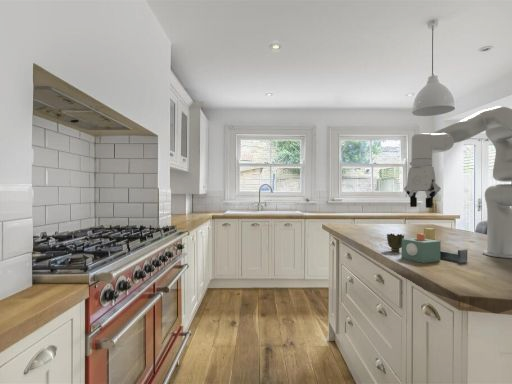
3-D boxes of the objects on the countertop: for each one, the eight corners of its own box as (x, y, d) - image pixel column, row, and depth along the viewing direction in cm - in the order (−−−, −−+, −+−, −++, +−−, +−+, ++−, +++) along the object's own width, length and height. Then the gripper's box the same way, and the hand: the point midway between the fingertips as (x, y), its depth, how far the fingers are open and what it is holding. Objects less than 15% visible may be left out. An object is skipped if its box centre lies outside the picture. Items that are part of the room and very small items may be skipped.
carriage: (427, 252, 135) (427, 227, 135) (440, 255, 130) (440, 229, 130) (418, 253, 133) (418, 228, 133) (430, 256, 127) (431, 229, 127)
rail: (423, 253, 136) (423, 242, 136) (467, 262, 119) (467, 249, 119) (416, 253, 134) (416, 242, 134) (460, 263, 117) (460, 250, 117)
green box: (418, 256, 130) (418, 237, 130) (440, 260, 120) (440, 241, 120) (400, 257, 125) (401, 238, 125) (422, 263, 116) (422, 242, 116)
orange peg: (419, 251, 125) (420, 233, 125) (426, 252, 122) (426, 234, 122) (414, 251, 124) (415, 233, 124) (421, 253, 121) (421, 234, 121)
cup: (405, 251, 140) (405, 234, 140) (403, 253, 134) (403, 236, 134) (387, 249, 144) (388, 232, 144) (385, 251, 138) (385, 234, 138)
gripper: (397, 165, 129) (396, 206, 129) (435, 161, 114) (435, 208, 114) (409, 165, 132) (409, 206, 132) (448, 162, 117) (447, 208, 117)
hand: (421, 206), depth 123 cm, fingers open, 6 cm apart
